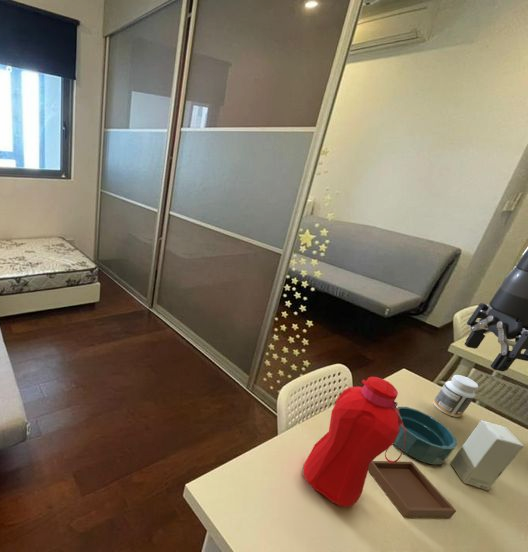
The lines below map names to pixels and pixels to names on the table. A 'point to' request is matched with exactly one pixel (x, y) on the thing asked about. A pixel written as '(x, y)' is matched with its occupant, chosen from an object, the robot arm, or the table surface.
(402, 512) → the tray
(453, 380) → the pill bottle
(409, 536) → the table surface
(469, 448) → the box
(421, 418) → the bowl
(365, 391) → the water bottle
